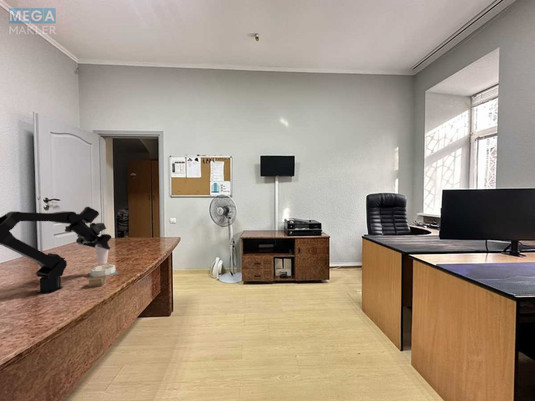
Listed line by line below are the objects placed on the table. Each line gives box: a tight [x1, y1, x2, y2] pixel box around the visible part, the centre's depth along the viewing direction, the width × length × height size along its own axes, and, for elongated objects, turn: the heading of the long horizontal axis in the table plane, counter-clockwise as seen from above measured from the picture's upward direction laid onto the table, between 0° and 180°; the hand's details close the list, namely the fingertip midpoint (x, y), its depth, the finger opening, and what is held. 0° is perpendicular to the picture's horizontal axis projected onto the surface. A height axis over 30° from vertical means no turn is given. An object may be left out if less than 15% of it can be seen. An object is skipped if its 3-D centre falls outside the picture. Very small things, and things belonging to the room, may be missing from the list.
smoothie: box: [94, 245, 111, 265], centre depth 126 cm, size 6×6×14 cm
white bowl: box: [89, 264, 116, 277], centre depth 126 cm, size 11×11×3 cm
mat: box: [87, 268, 119, 279], centre depth 126 cm, size 12×12×1 cm
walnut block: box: [88, 275, 107, 288], centre depth 109 cm, size 5×5×4 cm
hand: (104, 248), depth 127 cm, fingers closed on smoothie, 6 cm apart
